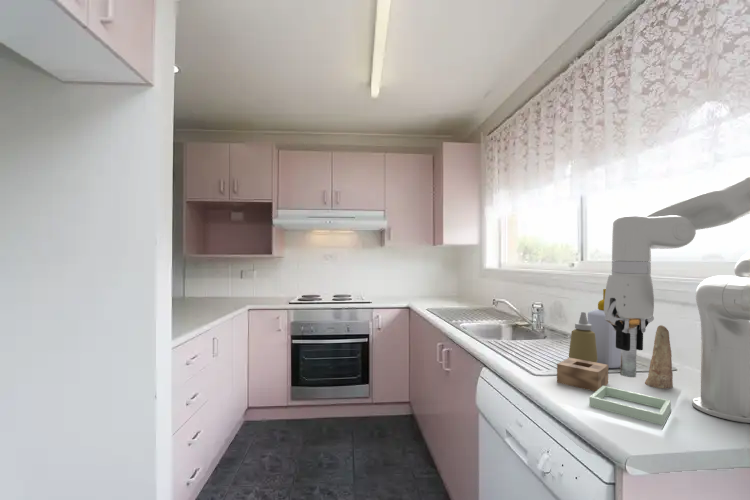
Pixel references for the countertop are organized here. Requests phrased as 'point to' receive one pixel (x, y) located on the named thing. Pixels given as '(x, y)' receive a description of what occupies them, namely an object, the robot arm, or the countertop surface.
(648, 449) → the countertop surface
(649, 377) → the tapered stone wedge
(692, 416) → the countertop surface
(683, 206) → the robot arm
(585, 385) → the socket block
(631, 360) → the pin
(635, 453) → the countertop surface
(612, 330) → the soap bottle
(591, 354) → the squeeze bottle
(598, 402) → the tray
